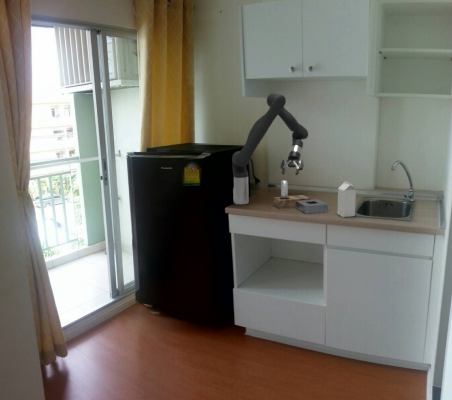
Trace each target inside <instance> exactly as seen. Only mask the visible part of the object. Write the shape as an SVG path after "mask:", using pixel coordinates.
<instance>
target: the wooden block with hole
mask: <svg viewBox="0 0 452 400" xmlns="http://www.w3.org/2000/svg"><path fill="white" fill-rule="evenodd" d="M301 200H311V197H309V196H307V195H305V194H300V195H299V194H298V195H288V199H283V200H281V196H273V206H275V207H276V208H277V209H279V210H281V209H292V208H296V201H301Z"/></svg>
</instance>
